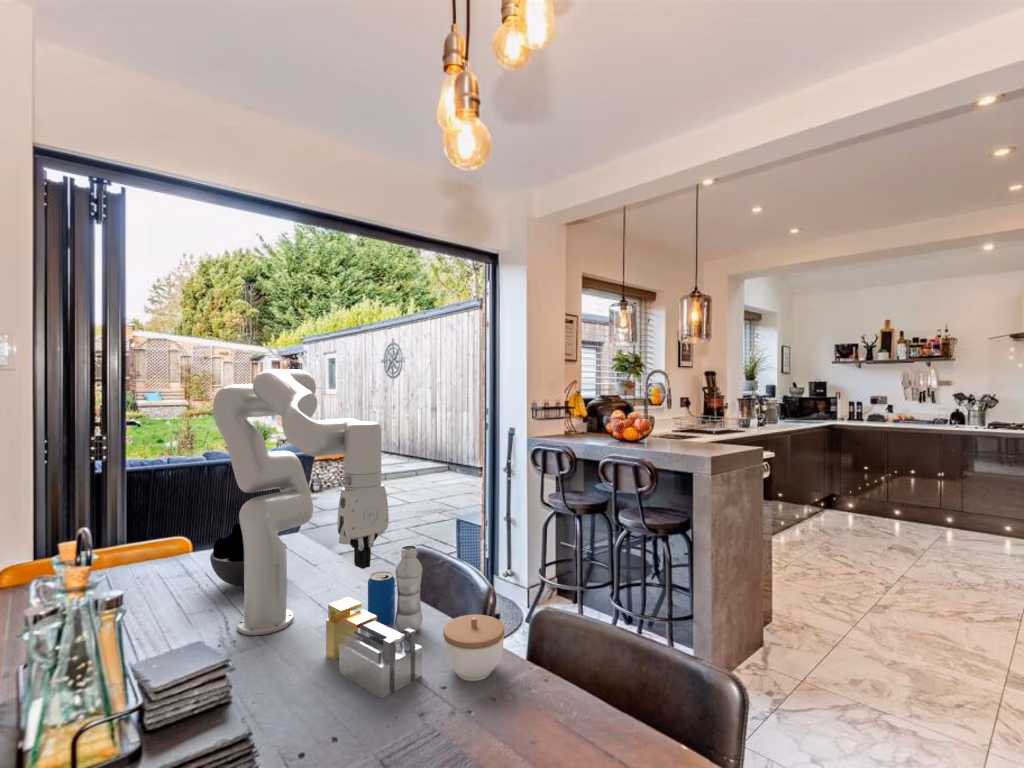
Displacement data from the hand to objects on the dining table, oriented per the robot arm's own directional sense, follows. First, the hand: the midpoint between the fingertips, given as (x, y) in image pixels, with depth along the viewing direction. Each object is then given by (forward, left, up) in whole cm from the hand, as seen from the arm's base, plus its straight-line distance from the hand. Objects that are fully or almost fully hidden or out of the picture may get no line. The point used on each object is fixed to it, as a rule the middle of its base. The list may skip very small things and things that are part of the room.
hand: (362, 566), depth 111 cm
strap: (+5, 0, -12) cm, 13 cm away
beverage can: (-12, +14, -21) cm, 28 cm away
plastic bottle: (-4, +16, -21) cm, 27 cm away
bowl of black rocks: (-62, +5, -21) cm, 66 cm away
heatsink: (+6, 0, -21) cm, 22 cm away
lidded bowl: (+20, +13, -21) cm, 32 cm away
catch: (-7, 0, -21) cm, 22 cm away
